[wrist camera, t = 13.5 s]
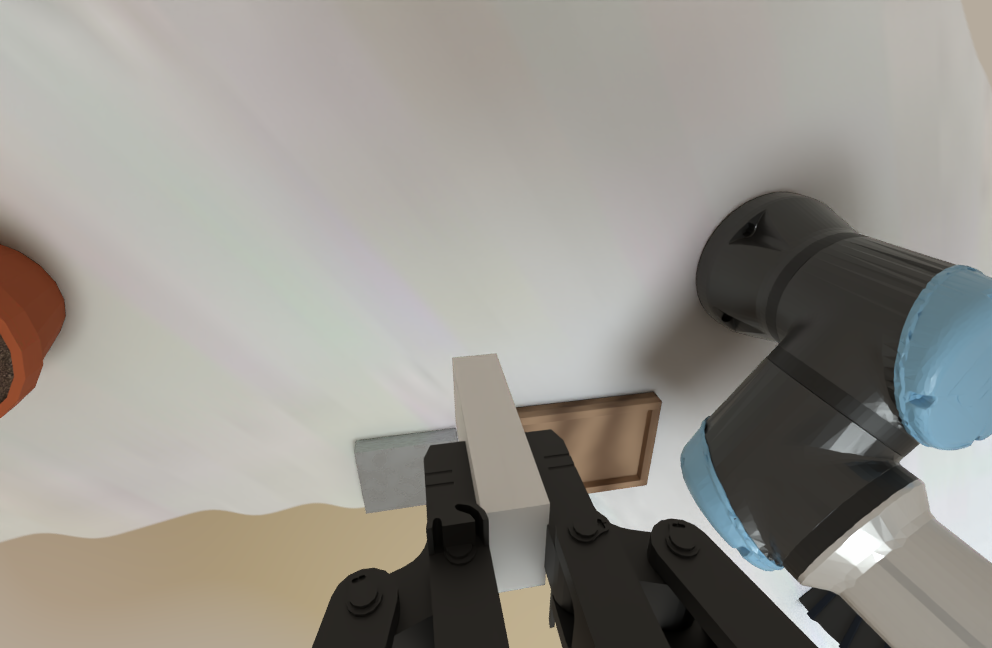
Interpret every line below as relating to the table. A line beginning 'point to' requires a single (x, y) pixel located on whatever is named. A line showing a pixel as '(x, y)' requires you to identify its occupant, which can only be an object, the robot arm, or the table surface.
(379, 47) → the table surface
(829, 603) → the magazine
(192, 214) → the table surface
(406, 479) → the cover plate
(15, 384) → the potted plant
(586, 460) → the brown wooden tray
